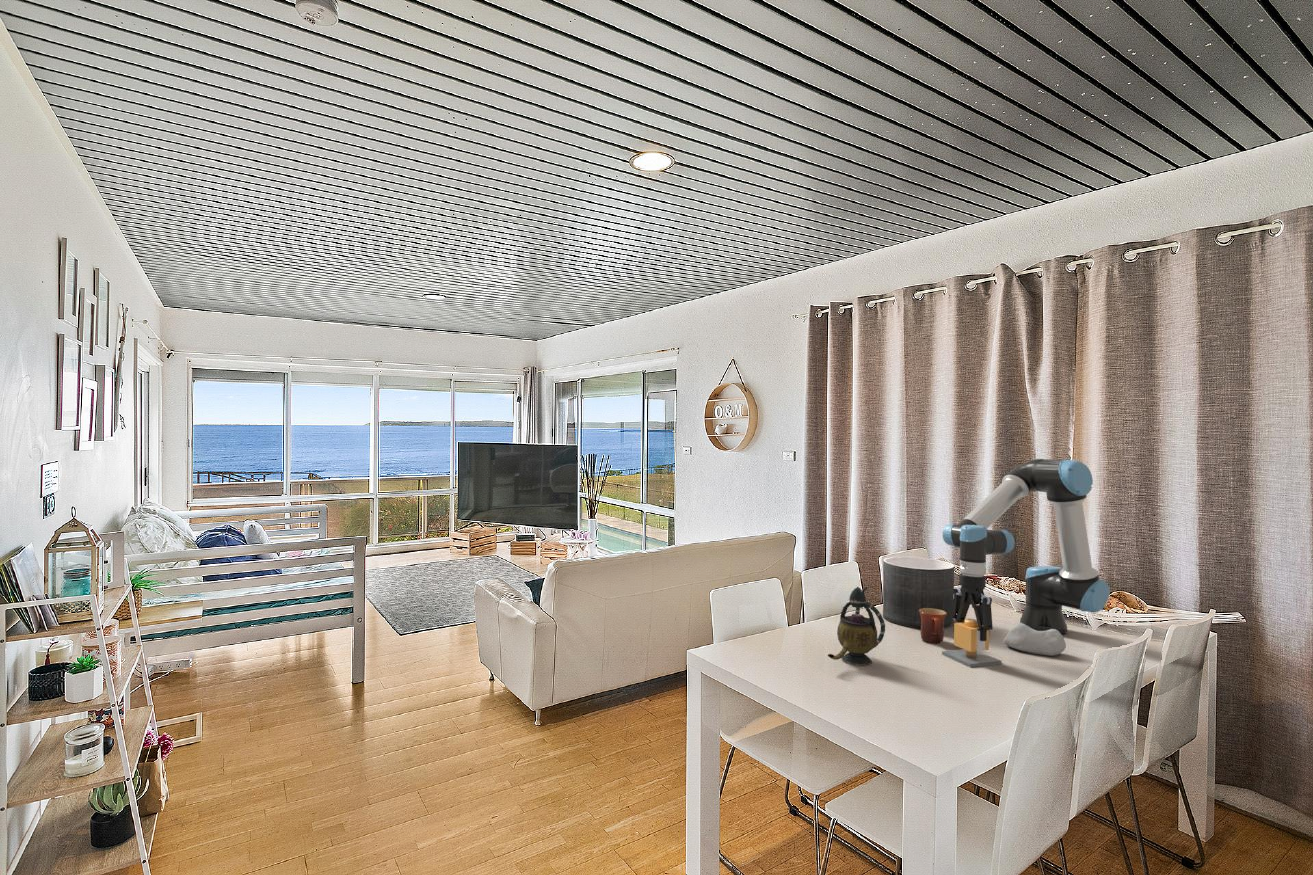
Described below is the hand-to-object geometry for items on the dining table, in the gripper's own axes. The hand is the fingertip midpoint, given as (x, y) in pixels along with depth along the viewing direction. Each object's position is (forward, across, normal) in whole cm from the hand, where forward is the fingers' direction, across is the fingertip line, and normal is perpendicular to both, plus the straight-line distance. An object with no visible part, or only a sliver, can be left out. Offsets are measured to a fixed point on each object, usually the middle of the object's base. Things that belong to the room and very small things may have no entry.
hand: (971, 646), depth 204 cm
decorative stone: (+4, -1, +28) cm, 28 cm away
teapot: (+4, -6, -40) cm, 41 cm away
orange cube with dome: (0, 0, 0) cm, 0 cm away
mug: (+4, -17, 0) cm, 18 cm away
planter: (+4, -42, +14) cm, 44 cm away
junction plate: (+4, 0, 0) cm, 4 cm away
